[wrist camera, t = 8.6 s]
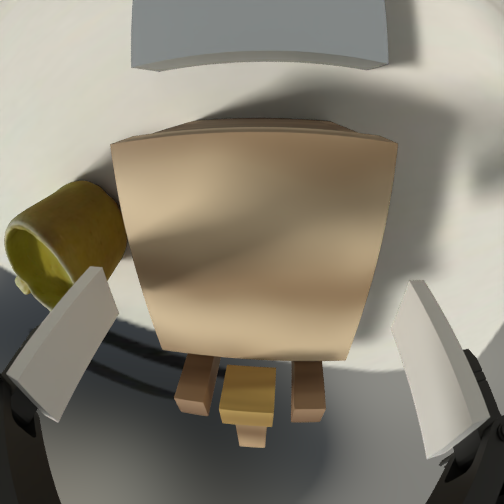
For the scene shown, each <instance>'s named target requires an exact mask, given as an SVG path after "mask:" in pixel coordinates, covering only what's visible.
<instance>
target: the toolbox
mask: <svg viewBox="0 0 504 504" xmlns="http://www.w3.org/2000/svg"><path fill="white" fill-rule="evenodd" d="M229 127H287V128H308V129H323V130H335V131H345V132H354V133H357V132H355V131H353V130H350V129H348V128H346V127H343V126H341V125H338V124H336V123H333V122H331V121H322V120H308V119H287V118H233V119H212V120H197V121H192V122H189V123H185V124H181V125H178V126H175V127H171V128H168V129H165V130H162V131H159V132H156V133H162V132H171V131H181V130H193V129H208V128H229ZM153 134H154V133H153ZM220 358H221V357H218V356H208V355H199V354H191V353H188V355H187V358H186V361H185V364H184V367H183V371H182V374H181V377H180V380H179V384H178V387H177V390H176V393H175V397H174V399H175V401H176V403H177V405H178V406H179V408H180V410H181V412H185V413H191V414H198V415H204V416H208V415H209V410H210V405H211V401H212V396H213V391H214V387H215V382H216V377H217V372H218V368H219V363H220ZM291 403H292V404H291V422H320V420H321V417H322V416H323V414H324V412H325V410H326V405H325V390H324V378H323V367H322V361H292V400H291Z"/></svg>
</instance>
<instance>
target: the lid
mask: <svg viewBox="0 0 504 504" xmlns="http://www.w3.org/2000/svg"><path fill="white" fill-rule="evenodd" d="M110 146H111V154H112V161H113V167H114V174H115V180H116V185H117V191H118V196H119V201H120V206H121V211H122V216H123V220H124V225H125V229H126V233H127V237H128V241H129V245H130V249H131V253H132V257H133V261H134V264H135V268H136V272H137V275H138V278H139V282H140V285H141V288H142V292H143V295H144V298H145V301H146V304H147V307H148V310H149V313H150V316H151V319H152V322H153V325H154V328H155V331H156V333H157V336H158V339H159V341H160V344H161V347H162V349H163V350H169V351H176V352H184V353H191V354H199V355H208V356H218V357H230V358H243V359H259V360H281V361H342V360H346V358H347V355H348V353H349V350H350V347H351V345H352V342H353V339H354V336H355V333H356V331H357V328H358V325H359V322H360V319H361V316H362V312H363V309H364V306H365V303H366V300H367V296H368V293H369V289H370V286H371V282H372V279H373V275H374V271H375V268H376V264H377V260H378V256H379V252H380V247H381V243H382V239H383V234H384V230H385V225H386V220H387V215H388V209H389V204H390V198H391V192H392V186H393V179H394V173H395V165H396V157H397V148H398V143H395V142H393V141H391V140H388V139H386V138H384V137H381V136H377V135H370V134H362V133H354V132H345V131H335V130H323V129H308V128H287V127H229V128H208V129H193V130H181V131H171V132H162V133H154V134H146V135H139V136H133V137H130V138H127V139H124V140H121V141H118V142H116V143H113V144H110Z"/></svg>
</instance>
